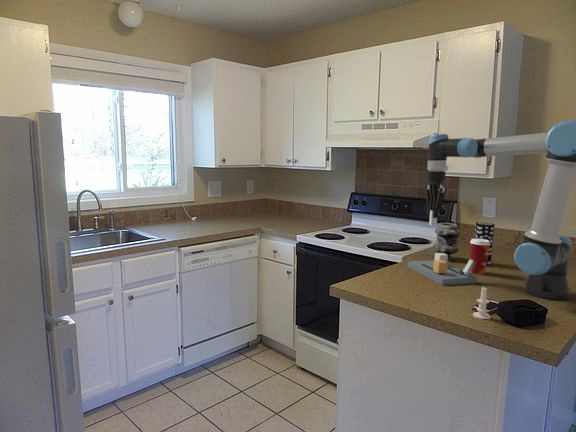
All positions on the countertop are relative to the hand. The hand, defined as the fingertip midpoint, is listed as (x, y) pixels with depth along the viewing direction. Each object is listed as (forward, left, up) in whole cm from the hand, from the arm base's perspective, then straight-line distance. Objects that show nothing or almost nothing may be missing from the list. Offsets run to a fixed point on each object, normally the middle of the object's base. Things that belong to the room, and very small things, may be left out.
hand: (432, 224), depth 181 cm
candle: (-48, +10, -22) cm, 54 cm away
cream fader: (+4, -8, -19) cm, 21 cm away
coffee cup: (-2, -23, -22) cm, 32 cm away
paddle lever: (-13, -8, -19) cm, 24 cm away
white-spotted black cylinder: (+11, -35, -22) cm, 43 cm away
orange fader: (-8, 0, -19) cm, 20 cm away
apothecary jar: (+23, -23, -22) cm, 39 cm away
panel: (-2, -4, -22) cm, 22 cm away
